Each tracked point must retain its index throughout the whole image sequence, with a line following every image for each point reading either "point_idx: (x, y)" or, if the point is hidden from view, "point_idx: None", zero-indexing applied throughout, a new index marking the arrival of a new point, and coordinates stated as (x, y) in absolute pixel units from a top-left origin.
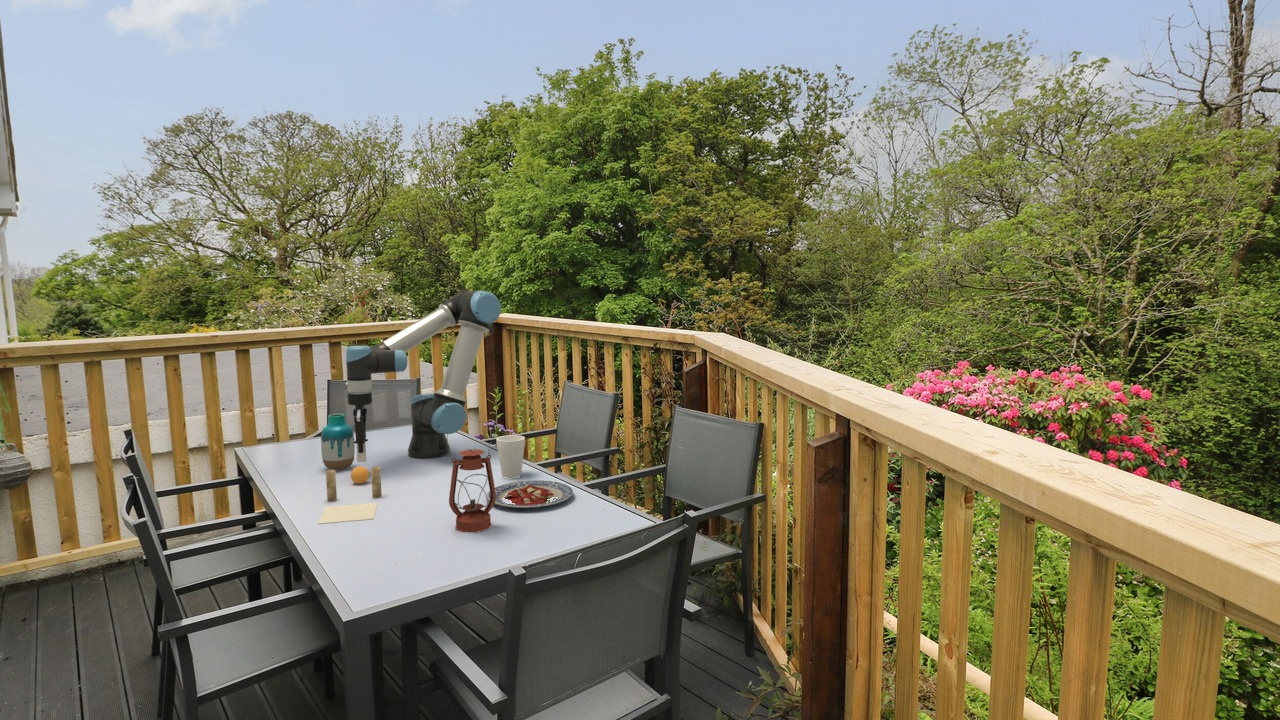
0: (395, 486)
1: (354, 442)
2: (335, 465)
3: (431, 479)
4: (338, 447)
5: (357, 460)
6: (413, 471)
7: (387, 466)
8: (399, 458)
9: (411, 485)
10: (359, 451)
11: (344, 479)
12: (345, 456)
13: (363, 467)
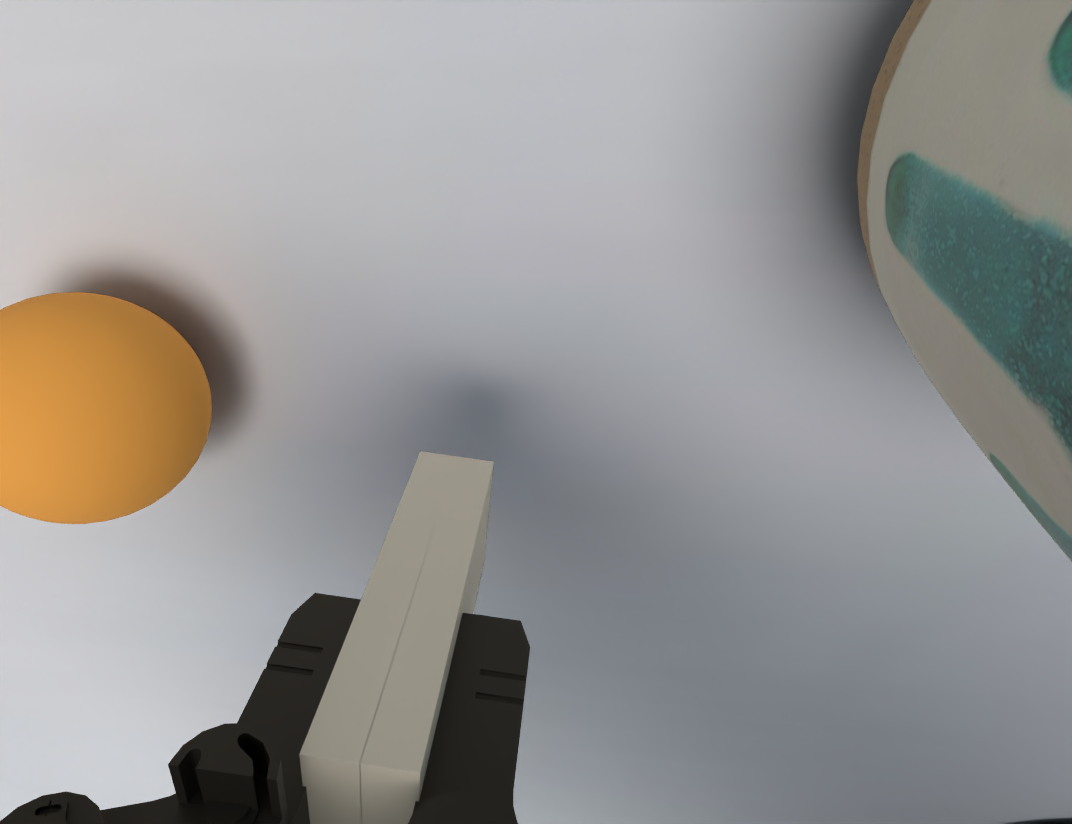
0: (23, 609)
1: (182, 758)
2: (885, 58)
3: None
4: (988, 240)
5: (413, 474)
6: None
7: (783, 637)
8: (1059, 754)
9: (48, 696)
10: (293, 629)
11: (379, 181)
12: (890, 301)
13: (21, 509)
